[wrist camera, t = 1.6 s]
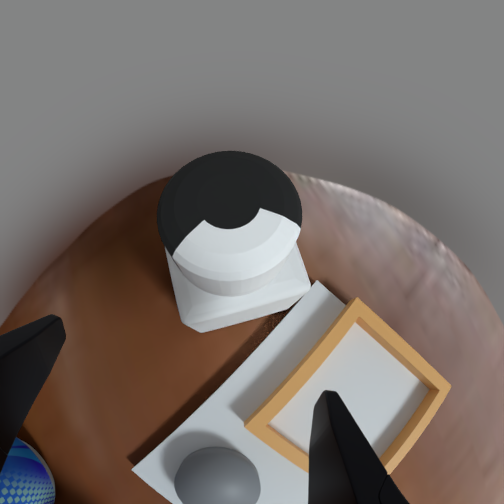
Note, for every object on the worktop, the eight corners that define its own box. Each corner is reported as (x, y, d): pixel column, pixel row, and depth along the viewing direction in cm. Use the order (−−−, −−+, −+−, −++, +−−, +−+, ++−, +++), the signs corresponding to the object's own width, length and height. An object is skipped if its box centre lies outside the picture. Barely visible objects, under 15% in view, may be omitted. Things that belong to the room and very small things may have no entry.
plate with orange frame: (273, 557, 14) (276, 571, 12) (134, 466, 17) (124, 476, 15) (436, 385, 20) (452, 386, 18) (318, 277, 23) (327, 269, 21)
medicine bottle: (177, 246, 23) (132, 153, 12) (263, 224, 24) (284, 120, 13) (198, 334, 21) (156, 313, 10) (290, 308, 22) (346, 261, 11)
